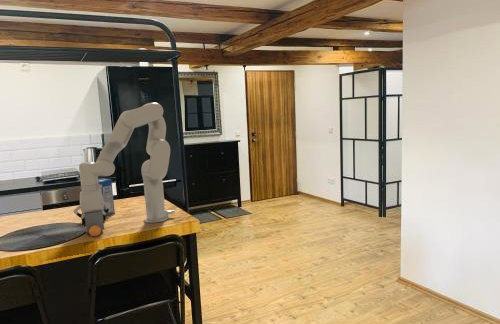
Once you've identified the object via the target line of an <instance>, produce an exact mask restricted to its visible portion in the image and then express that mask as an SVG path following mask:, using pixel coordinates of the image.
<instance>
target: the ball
mask: <svg viewBox="0 0 500 324" xmlns="http://www.w3.org/2000/svg"><path fill="white" fill-rule="evenodd" d="M88 233H89V235H90V236H91V237H98V236H99V235H100V234H101V233H102V230H101V229H100V227H99V226H96V225H94V226H92V227H91V228H90V229H89V232H88Z"/></svg>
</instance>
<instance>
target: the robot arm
mask: <svg viewBox="0 0 500 324" xmlns="http://www.w3.org/2000/svg"><path fill="white" fill-rule="evenodd" d="M163 115H164V108H163V106H162V105H161V104H160V103H158V102H148V103H145V104H143V105H142V106H140V107H137V108H134V109H129V110H125V111H122V113H120V115H119V118H118V119H117V121H116V123H115V125H114V128H113V130H112V131H111V134H110V135H109V137H108V139H107V141H106V142H105V144H104V146H103V147H102V149H101V151H100V153H99V155H98V156H97V158H96V160H95V162H94V161H86V162H85V161H84V162H81V163H79V165H78V171H79V179H80V187H81V191H80V192H79V205H78V206H77V207H76V208H74V209H73V211H72V213H74V214H75V215H76V216H77V217H79V218H80V219H81V225H83V227H85V226H86V224H85V217H84V213H90V212H96V211H102V212H103V221H104V224H105V223H106V222H107V217H105V215H106V213H107V212H108V211H109V209H110V207H111V205H110V204H108V203H106V202H104V201H103V197H102V193H101V190H100V189H99V188H100V187H102V184H98V179H99V177H109V176H111V175H113V174H114V173H115V170H116V166H115V164H114V161H115V159H116V157H117V155H118V154H119V153H120V152H121V151H122V150H123V149H124V148H126V146H127V145H128V142H130V141H129V140H130V138H131V136H132V134H133V132H134V130H135V128H139V127H142V126H145V125H148V134H147V141H146V147H145V150H146V153H147V154H148V155H149V156H150V158H149V159H147V160H145V161H143V162H142V165H141V167H140V168H141V177H142V181H143V189H144V190H143V191H144V203H145V212H146V217H144V218H143V221H144V223H147V224H149V223H150V224H153V223H154V224H155V223H162V222H165V221H167V220H169V218H170V217H169V215H172V214H175V213H176V212H175V210H174V209H169V210H167V209H166V205H165V195H164V194H165V193H164V183H163V179H164V178H165V177H166V176H167V174H168V169H169V164H170V158H171V157H170V156H171V146H170V144H169V142H168V141H167V140H166V135H167V134H166V133H167V125H166V121H165V117H163ZM104 205H106V206H107V208H106V209H105V210H103V209H104ZM79 210H80V211H81V213H80V212H78V211H79Z"/></svg>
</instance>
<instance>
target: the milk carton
mask: <svg viewBox="0 0 500 324" xmlns="http://www.w3.org/2000/svg"><path fill="white" fill-rule="evenodd" d="M112 183H113V181H112V179H110V178H109V179H108V178H98V184H102V187H100V188H99V189H100V190H101V193H102V197H103V201H104V202H106V203H108V204H110V205H111V207H110V209H109V211H108V212H107V213H106V215H105V217H106V218H107V217H110V216H113V215H115V214H116V212H115V202H114V193H113V184H112ZM106 208H107V206H106V205H104V209H103V210H105V209H106Z"/></svg>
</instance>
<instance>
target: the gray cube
mask: <svg viewBox="0 0 500 324" xmlns="http://www.w3.org/2000/svg"><path fill="white" fill-rule="evenodd" d="M84 217H85V224H86V226H85V228H84V229H85V232H86V233H89V229H90V228H91V227H92V226H94V225H96V226H99V227H100V229H101V231H103V230H105V223H104V221H103V212H102V211H96V212H90V213H84Z"/></svg>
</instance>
